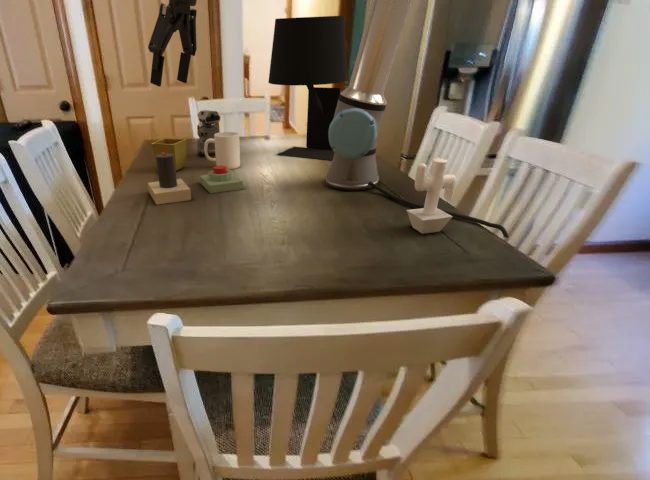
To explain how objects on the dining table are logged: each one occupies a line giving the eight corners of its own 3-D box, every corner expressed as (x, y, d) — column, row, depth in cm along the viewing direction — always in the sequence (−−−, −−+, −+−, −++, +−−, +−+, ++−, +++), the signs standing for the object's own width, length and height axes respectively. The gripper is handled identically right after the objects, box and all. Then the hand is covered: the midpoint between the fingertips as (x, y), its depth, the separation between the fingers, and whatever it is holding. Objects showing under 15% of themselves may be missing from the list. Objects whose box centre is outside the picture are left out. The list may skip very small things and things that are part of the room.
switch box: (242, 189, 137) (242, 174, 135) (210, 193, 135) (209, 178, 132) (231, 179, 146) (230, 165, 144) (200, 183, 144) (199, 169, 142)
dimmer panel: (191, 200, 130) (190, 188, 128) (156, 204, 128) (154, 192, 126) (182, 189, 139) (181, 178, 138) (149, 193, 137) (147, 182, 135)
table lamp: (354, 151, 171) (367, 14, 147) (321, 169, 152) (331, 15, 128) (292, 146, 182) (295, 18, 158) (255, 161, 164) (252, 19, 139)
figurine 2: (453, 232, 104) (470, 160, 95) (415, 237, 103) (429, 164, 94) (435, 221, 110) (450, 153, 101) (399, 226, 108) (410, 157, 99)
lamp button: (228, 174, 137) (228, 167, 136) (215, 175, 136) (215, 169, 135) (224, 171, 140) (224, 164, 139) (212, 172, 139) (211, 166, 138)
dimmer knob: (178, 186, 131) (175, 154, 126) (161, 188, 129) (156, 156, 124) (175, 182, 134) (171, 151, 129) (158, 184, 133) (153, 153, 128)
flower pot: (154, 172, 157) (150, 143, 151) (167, 165, 163) (163, 137, 158) (177, 173, 154) (173, 144, 149) (189, 167, 160) (186, 138, 155)
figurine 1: (201, 160, 169) (197, 113, 160) (197, 153, 178) (193, 108, 169) (225, 158, 170) (223, 111, 161) (220, 151, 179) (218, 107, 170)
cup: (239, 169, 156) (238, 136, 150) (204, 170, 157) (201, 137, 150) (241, 163, 162) (239, 131, 156) (207, 164, 163) (204, 132, 157)
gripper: (194, -19, 118) (180, 75, 132) (139, -31, 100) (129, 80, 113) (219, -9, 117) (203, 85, 131) (169, -20, 99) (156, 91, 112)
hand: (169, 83), depth 122 cm, fingers open, 13 cm apart
